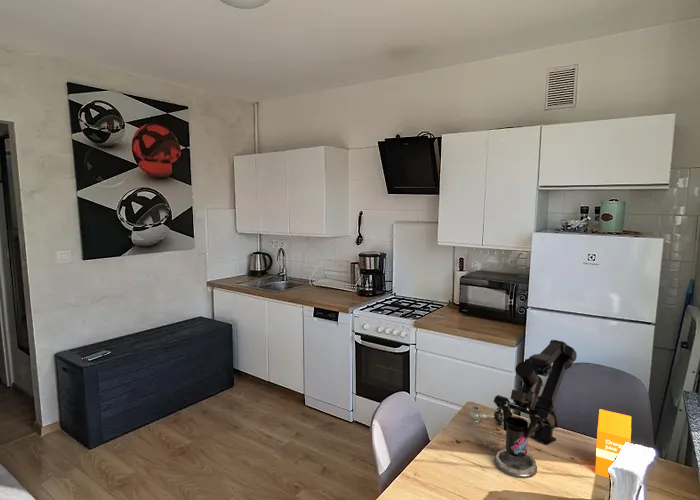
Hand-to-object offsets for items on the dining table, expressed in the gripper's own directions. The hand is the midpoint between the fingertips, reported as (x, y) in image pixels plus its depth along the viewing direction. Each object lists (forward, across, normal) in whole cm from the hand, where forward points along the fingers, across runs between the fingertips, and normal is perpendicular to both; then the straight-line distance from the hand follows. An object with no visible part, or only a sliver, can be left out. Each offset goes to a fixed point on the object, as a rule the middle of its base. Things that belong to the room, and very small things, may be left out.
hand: (514, 434), depth 137 cm
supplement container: (+4, 0, +6) cm, 7 cm away
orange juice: (-5, +23, +22) cm, 33 cm away
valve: (-5, -21, +22) cm, 31 cm away
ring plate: (+7, 0, +9) cm, 11 cm away
